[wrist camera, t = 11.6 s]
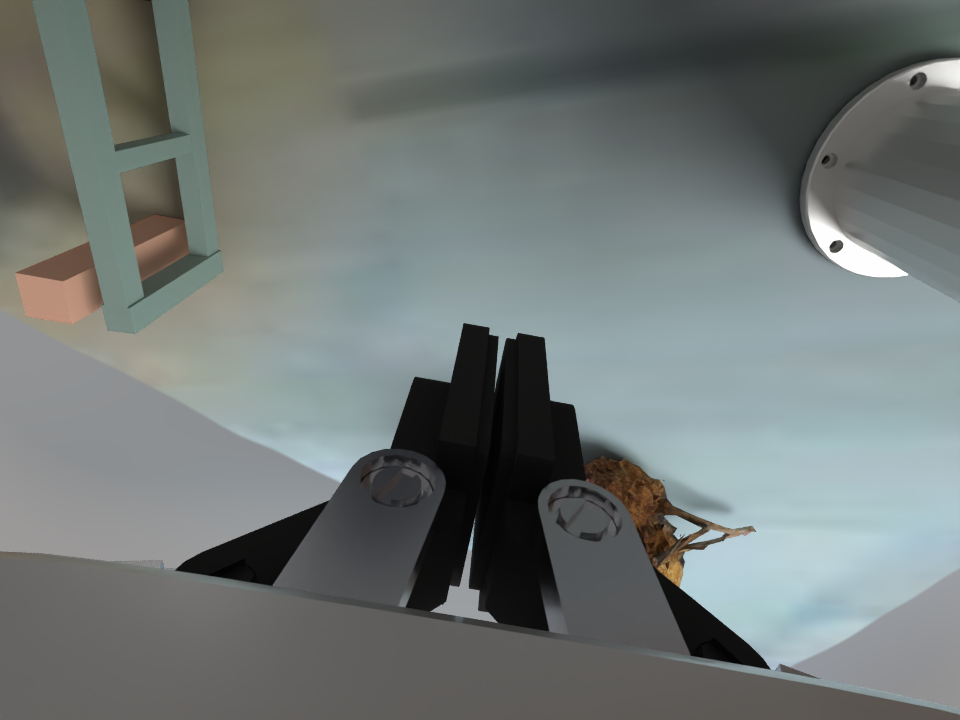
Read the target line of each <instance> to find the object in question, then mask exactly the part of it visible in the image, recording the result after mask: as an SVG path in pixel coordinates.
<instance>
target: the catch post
mask: <svg viewBox="0 0 960 720" xmlns="http://www.w3.org/2000/svg"><path fill="white" fill-rule="evenodd" d="M130 228H131V233H132V238H133V243H134V248H135V253H136V258H137V263H138V268H139V274H140V279H141V281H143V280H145V279H146V278H148V277H150V276H151V275H153V274H155V273H157V272H158V271H160V270H162V269H163V268H165V267H167V266H169V265H170V264H172V263H174V262H175V261H177V260H179V259H181V258H182V257H184V256H186V255H187V254H189V246H188V240H187V233H186V226H185V220H182V219H176V218H171V217H166V216H160V215H155V214H154V215H152V216H149V217H147V218H145V219H142V220H140V221H138V222H135V223H133V224H130ZM15 274H16V278H17V282H18V286H19V290H20V294H21V298H22V302H23V306H24V310H25V314H26V316H28V317H34V318H40V319H45V320H51V321H57V322H62V323H68V324H74V323H75V322H77V321H79V320H80V319H82V318H84V317H85V316H87V315H89V314H90V313H92V312H94V311H96V310H97V309H99V308H101V307H102V304H103V303H104V302H103V298H102V294H101V289H100V285H99V281H98V277H97V273H96V268H95V264H94V260H93V256H92V252H91V247H90V243H89V242H88V243H85V244H83V245H80V246H78V247H76V248H73V249H71V250H69V251H66V252H64V253H61V254H59V255H57V256H54V257H52V258H50V259H47V260H45V261H42V262H40V263H38V264H35V265H33V266H30V267H28V268H26V269H23V270H21V271H19V272H16V273H15Z"/></svg>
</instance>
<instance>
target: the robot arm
mask: <svg viewBox="0 0 960 720" xmlns="http://www.w3.org/2000/svg"><path fill="white" fill-rule="evenodd" d="M911 78H912V82H911V83H910V79H911ZM909 83H910V84H909ZM825 156H826V160H825V161H824V162H823V163H822V159H823V158H824V157H825ZM800 210H801V219H802V222H803V225H804V228H805V231H806V234H807V236H808V237H809V239H810V240H811V242H812V244H813V245H814V247H815V248H816V249H817V250H818V251H819V252H820V253H821V254H822V255H823V256H824V257H825V258H827V259H828V260H829V261H831V262H833V263H834V264H836V265H837V266H839V267H840V268H842V269H845V270H847V271H850V272H852V273H854V274H857V275H862V276H868V277H873V278H895V277H901V276H907V275H911V276H912V277H914V278H916V279H918V280H920V281H921V282H923V283H925V284H927V285H929V286H931V287H932V288H934V289H936V290H938V291H940V292H941V293H943V294H945V295H947V296H949V297H951V298H952V299H954V300H956V301H958V302H960V58H938V59H933V60H928V61H924V62H919V63H915V64H912V65H909V66H907V67H904V68H902V69H899V70H897V71H894V72H892V73H890V74H888V75H886V76H885V77H883V78H881V79H880V80H878V81H876V82H875V83H873V84H871V85H870V86H868V87H867V88H866V89H864V90H863V91H862V92H861V93H859V94H858V95H857V96H856V97H854V98H853V99H852V100H851V101H849V102H848V103H847V104H846V105H845V107H844V108H843V109H842V110H841V111H840V112H839V113H838V114H837V115H836V116H835V117H834V118H833V119H832V121H831V122H830V123H829V125H828V126H827V128H826V129H825V130H824V132H823V133H822V135H821V136H820V138H819V139H818V141H817V143H816V145H815V147H814V149H813V151H812V153H811V155H810V157H809V159H808V161H807V165H806V168H805V171H804V175H803V178H802V182H801V191H800ZM832 242H833V243H832ZM831 243H832V244H831ZM830 244H831V245H830ZM829 245H830V246H829ZM498 339H499V336H493V335H489V328H488V327H482V326H477V325H471V324H466V323H464V324H463V329H462V333H461V338H460V343H459V347H458V352H457V357H456V361H455V366H454V371H453V375H452V380H451V383H448V382H442V381H437V380H431V379H425V378H420V377H415V378H414V380H413V383H412V386H411V389H410V392H409V395H408V398H407V401H406V404H405V407H404V410H403V413H402V416H401V419H400V422H399V425H398V428H397V431H396V434H395V437H394V440H393V443H392V446H391V449H383V450H379V451H375V452H371V453H370V454H368V455H366V456H364V457H362V458H360V459H359V460H358V461H357V462H356V463H355V464H354V465H353V466H352V468H351V469H350V471H349V472H348V474H347V475H346V477H345V478H344V480H343V481H342V483H341V484H340V486H339V487H338V489H337V490H336V492H335V493H334V495H333V496H332V498H331V499H330V500H329V501H326V502H324V503H322V504H319V505H317V506H314V507H312V508H310V509H307V510H304V511H302V512H299V513H297V514H295V515H292V516H290V517H287V518H285V519H282V520H280V521H277V522H275V523H272V524H270V525H268V526H265V527H263V528H260V529H258V530H255V531H253V532H250V533H248V534H246V535H243V536H241V537H238V538H236V539H233V540H231V541H228V542H226V543H224V544H221V545H219V546H216V547H214V548H211V549H209V550H206V551H204V552H202V553H200V554H198V555H196V556H194V557H192V558H190V559H189V560H187V561H185V562H184V563H183V564H181V565H180V566H179V567H178V568H167V569H164V565H163V560H147V561H145V560H144V561H103V560H94V559H85V558H77V557H68V556H60V555H52V554H43V553H23V552H0V720H960V709H959V708H956V707H952V706H949V705H945V704H940V703H935V702H931V701H926V700H921V699H917V698H912V697H907V696H903V695H898V694H893V693H889V692H884V691H880V690H875V689H870V688H865V687H860V686H855V685H850V684H845V683H838V682H833V681H828V680H822V679H819V678H816V677H814V676H811V675H809V674H806V673H803V672H800V671H798V670H795V669H793V668H790V667H787V666H785V665H782V664H779V666H778V667H777V668H776V670H771V669H770V668H769V666H768V665H767V663H766V662H765V661H764V659H763V658H762V657H761V656H760V655H759V654H758V653H757V652H756V651H755V650H754V649H753V648H752V647H751V646H750V645H749V644H748V643H746V642H745V641H744V640H743V639H741V638H740V637H739V636H738V635H737V634H735V633H734V632H733V631H732V630H730V629H729V628H728V627H727V626H726V625H724V624H723V623H722V622H721V621H719V620H718V619H717V618H716V617H715V616H713V615H712V614H711V613H710V612H708V611H707V610H706V609H705V608H703V607H702V606H701V605H700V604H699V603H697V602H696V601H695V600H694V599H692V598H691V597H690V596H689V595H688V594H686V593H685V592H684V591H683V590H681V589H680V588H679V587H678V586H677V585H675V584H674V583H673V582H672V581H670V580H669V579H668V578H667V577H666V576H664V575H663V574H662V573H661V572H659V571H658V570H657V569H656V568H655V567H653V566H652V564H651V562H650V560H649V557H648V555H647V553H646V551H645V548H644V546H643V544H642V541H641V539H640V537H639V534H638V532H637V530H636V527H635V525H634V523H633V520H632V518H631V516H630V514H629V512H628V511H627V509H626V507H625V506H624V504H623V503H622V502H621V501H620V500H619V499H618V498H616V497H615V496H614V495H613V494H612V493H610V492H608V491H607V490H605V489H604V488H602V487H600V486H597V485H595V484H592V483H590V482H587V481H586V476H585V470H584V464H583V457H582V451H581V444H580V438H579V432H578V425H577V419H576V413H575V408H574V406H573V405H571V404H566V403H560V402H554V401H550V394H549V382H548V371H547V360H546V349H545V339H544V338H543V337H538V336H532V335H527V334H521V333H518V334H517V337H516V340H515V339H510V338H507V339H506V342H505V346H504V351H503V355H502V360H501V365H500V369H499V374H498V379H497V383H496V388H495V377H496V364H497V352H498ZM494 390H495V393H494ZM475 515H476V516H475ZM474 519H475V527H474V537H473V547H472V557H471V568H470V578H469V589H475V590H480V594H479V606H478V610H479V611H484V612H489V613H490V614H491V615H492V616H493V617H494V619H495V620H496V621H497V622H498V623H494V622H489V621H483V620H477V619H471V618H464V617H459V616H453V615H447V614H441V613H435V612H430V611H432V610H433V609H435V608H436V607H438V606H440V605H441V604H442V605H443V604H444V602H446V599H447V595H448V590H449V585H451V586H458V587H459V586H460V582H461V577H462V573H463V568H464V563H465V559H466V555H467V551H468V546H469V542H470V537H471V533H472V528H473V524H474Z"/></svg>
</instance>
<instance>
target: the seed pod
mask: <svg viewBox="0 0 960 720" xmlns="http://www.w3.org/2000/svg"><path fill="white" fill-rule="evenodd" d="M584 470H585V476H586V481H587V482H590V483H592V484H595V485H597V486H600V487H602V488H604V489H605V490H607V491H608V492H610V493H612V494H613V495H614V496H615V497H616V498H618V499H619V500H620V501H621V502H622V503H623V504H624V506H625V507H626V509H627V511H628V512H629V514H630V516H631V518H632V520H633V523H634V525H635V527H636V530H637V532H638V534H639V537H640V539H641V541H642V544H643V546H644V548H645V551H646V553H647V555H648V557H649V560H650V562H651V564H652V566H653V567H655V568H656V569H657V570H658V571H659V572H661V573H662V574H663V575H664V576H666V577H667V578H668V579H669V580H670V581H672V582H673V583H674V584H675V585H677V586H678V587H680V583H681V579H682V576H683V567H684V563H685V561H684V559H683V555H684V553H685V551H690V550H692V549H697V550H704V549H705V548H706V547H707V546H708V545H710V544H714V543H717V542H721V541H724V540H725V539H728V538H732V537H736V536H739V535H741V534H742V535H747V534H749V533H750V532H756V531H755V529H754V528H753V526H749V527H743V528H737V529H730V528H725V527H722V526H720V525H717V524H714V523H712V522H709V521H707V520H704V519H702V518H699V517H697V516H694V515H691V514H689V513H687V512H685V511H683V510H681V509H678V508H676V507H674V506H673V505H672V504H671V503H670V502H669V501H668V499H667V496H666V492H665V488H664V486H663V484H662V483H661V482H660V480H658V479H652V478H650V477H649V476H648V475H647V474H646V473H645V472H644V471H643V470H642V469H641V468H640V467H638V466H636V465H633V464H632V463H631V462H629V461H627V460H626V459H625V458H624V459H623V460H622V461H616V460H613V459H609V460H608V461H607V460H606V458H605V457H604V456H603V455H602V457H601V459H600V460H598V459H594V460H593V461H592V462H590V463H589V464H585V465H584ZM663 481H664V480H663ZM665 515H677V516H679V517H681V518H683V519H685V520H687V521H689V522H691V523H693V524H695V525H697V526H699V527H702V529H701V530H700V531H698V532H696V533H694V534H692V535H689V536H687V537H685V538H683V537H684V536H683V537H681V538H680V539H679V540H678V539H677V538H676V537H675V535H673V533H674V532H675V531H676V529H677V528H676V527H674V526H672V525H671V524H670V523H669V522H668V521H667V520H666V519H665V518H664V516H665ZM710 529H712V530H716V531H720V532H724V533H725V534H724V535H723V536H722V537H720V538H717V539H713V540H709V541H703V542H698V543H693V544H688V543H690V542H691V541H693V540H695V539H696V538H698V537H699V536H701V535H703V534H705V533H706V532H708V531H709V530H710ZM680 536H681V535H680ZM682 538H683V539H682Z"/></svg>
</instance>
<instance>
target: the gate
mask: <svg viewBox="0 0 960 720" xmlns="http://www.w3.org/2000/svg"><path fill="white" fill-rule="evenodd" d="M32 3H33V8H34V12H35V16H36V20H37V25H38V29H39V33H40V37H41V41H42V46H43V50H44V54H45V58H46V62H47V67H48V71H49V75H50V79H51V83H52V88H53V92H54V96H55V100H56V104H57V109H58V113H59V117H60V121H61V125H62V130H63V134H64V138H65V142H66V146H67V151H68V155H69V159H70V163H71V168H72V172H73V176H74V180H75V184H76V189H77V193H78V197H79V201H80V205H81V210H82V214H83V218H84V222H85V226H86V231H87V235H88V239H89V243H90V247H91V252H92V256H93V260H94V264H95V268H96V273H97V277H98V281H99V285H100V289H101V294H102V298H103V302H104V303H103V304H102V309H103V314H104V318H105V322H106V326H107V330H108V331H115V332H123V333H131V334H136V333H138V332H139V331H140V330H142V329H143V328H145V327H146V326H147V325H149V324H150V323H152V322H153V321H154V320H156V319H157V318H159V317H160V316H161V315H163V314H164V313H166V312H167V311H168V310H170V309H171V308H173V307H174V306H176V305H177V304H178V303H180V302H181V301H183V300H184V299H185V298H187V297H188V296H190V295H191V294H192V293H194V292H195V291H197V290H198V289H199V288H201V287H202V286H204V285H205V284H206V283H208V282H209V281H211V280H212V279H214V278H215V277H216V276H218V275H219V274H221V273H222V272H223V263H222V255H221V250H219V248H218V240H217V231H216V223H215V215H214V207H213V199H212V191H211V183H210V175H209V166H208V158H207V150H206V142H205V134H204V126H203V118H202V110H201V102H200V93H199V85H198V77H197V69H196V61H195V53H194V45H193V37H192V29H191V20H190V12H189V4H188V0H152V6H153V13H154V20H155V26H156V33H157V40H158V46H159V53H160V60H161V66H162V73H163V80H164V86H165V93H166V100H167V106H168V113H169V120H170V126H171V133H170V134H165V135H160V136H155V137H151V138H146V139H141V140H136V141H131V142H126V143H122V144H117V145H114V143H113V138H112V132H111V127H110V122H109V117H108V112H107V107H106V102H105V97H104V92H103V87H102V82H101V77H100V72H99V67H98V62H97V57H96V52H95V47H94V42H93V37H92V32H91V27H90V22H89V17H88V12H87V7H86V2H85V0H32ZM172 158H175V160H176V166H177V173H178V180H179V186H180V193H181V200H182V206H183V213H184V220H185V226H186V233H187V240H188V246H189V254H187V255H186V256H184V257H182V258H181V259H179V260H177V261H175V262H174V263H172V264H170V265H169V266H167V267H165V268H163V269H162V270H160V271H158V272H157V273H155V274H153V275H151V276H150V277H148V278H146V279H145V280H143V281H141V279H140V274H139V268H138V263H137V258H136V253H135V248H134V243H133V238H132V233H131V228H130V223H129V218H128V213H127V208H126V203H125V198H124V193H123V188H122V183H121V178H120V173H122V172H125V171H129V170H132V169H136V168H139V167H143V166H147V165H150V164H154V163H157V162H161V161H164V160H168V159H172Z"/></svg>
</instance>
